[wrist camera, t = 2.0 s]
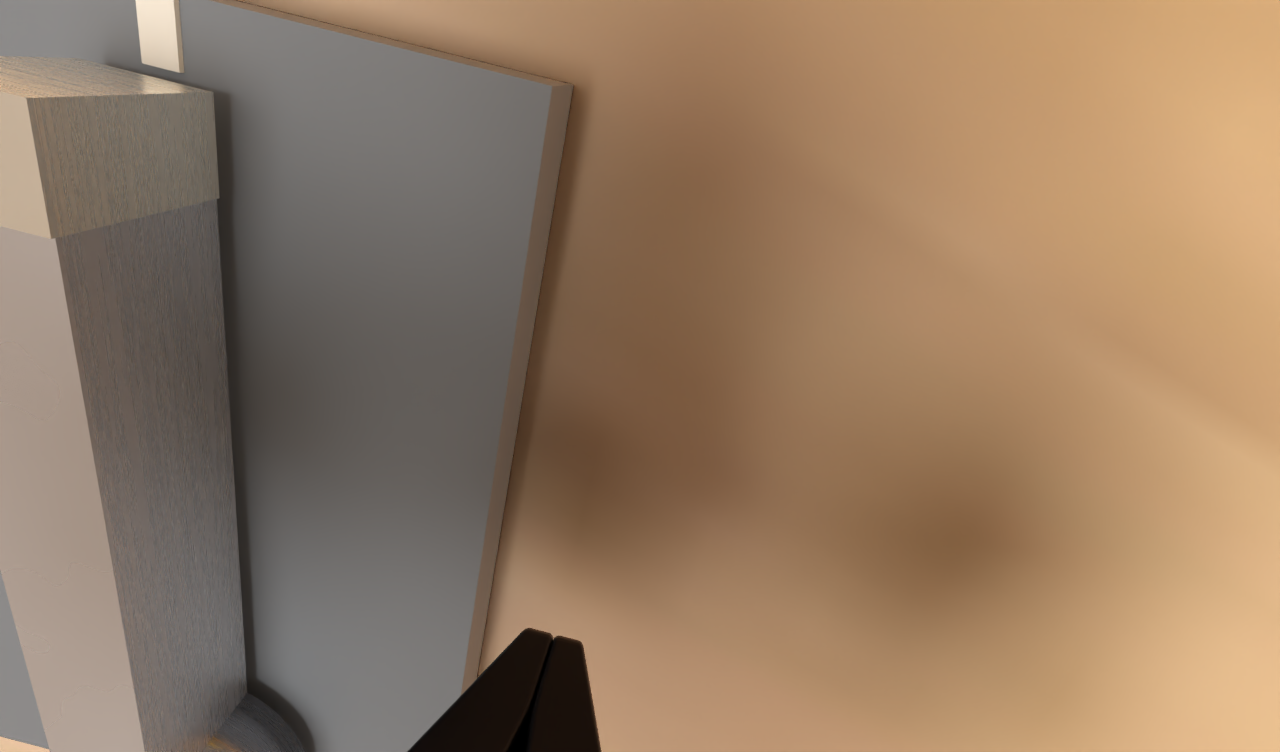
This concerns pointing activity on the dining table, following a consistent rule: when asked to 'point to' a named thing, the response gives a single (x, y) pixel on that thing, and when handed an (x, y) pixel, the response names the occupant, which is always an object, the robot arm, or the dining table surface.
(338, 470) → the dial plate
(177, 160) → the dial lever
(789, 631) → the dining table surface
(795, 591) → the dining table surface
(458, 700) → the robot arm
